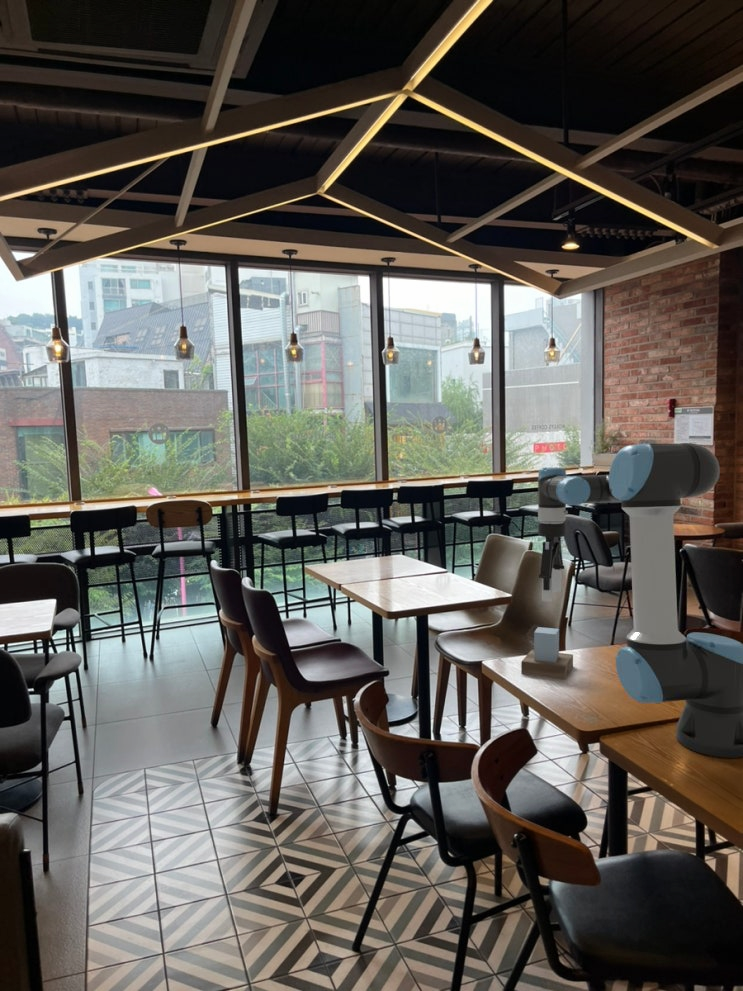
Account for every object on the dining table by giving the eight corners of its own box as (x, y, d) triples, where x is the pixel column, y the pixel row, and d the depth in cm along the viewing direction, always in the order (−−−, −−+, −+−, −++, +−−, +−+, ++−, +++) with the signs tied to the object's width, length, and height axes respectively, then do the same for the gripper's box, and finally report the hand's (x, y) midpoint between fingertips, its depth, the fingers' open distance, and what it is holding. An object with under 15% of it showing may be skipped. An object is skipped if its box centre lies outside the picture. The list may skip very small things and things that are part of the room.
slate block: (555, 662, 193) (555, 634, 193) (534, 660, 196) (534, 632, 195) (558, 656, 199) (559, 628, 198) (537, 654, 201) (537, 627, 201)
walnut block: (564, 681, 190) (564, 667, 189) (521, 675, 195) (521, 661, 195) (572, 668, 200) (573, 654, 200) (531, 662, 206) (531, 649, 205)
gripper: (557, 527, 182) (557, 607, 184) (573, 517, 204) (573, 588, 206) (528, 526, 185) (528, 604, 187) (547, 517, 208) (547, 586, 209)
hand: (551, 596), depth 196 cm, fingers open, 13 cm apart
